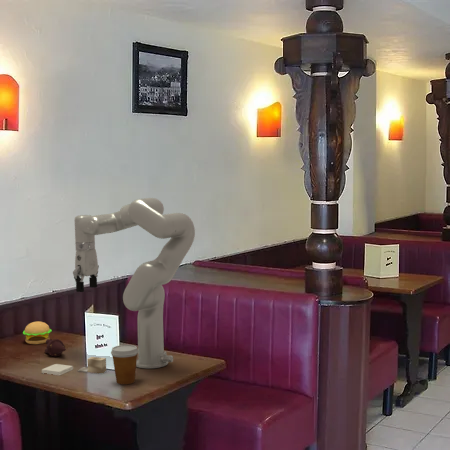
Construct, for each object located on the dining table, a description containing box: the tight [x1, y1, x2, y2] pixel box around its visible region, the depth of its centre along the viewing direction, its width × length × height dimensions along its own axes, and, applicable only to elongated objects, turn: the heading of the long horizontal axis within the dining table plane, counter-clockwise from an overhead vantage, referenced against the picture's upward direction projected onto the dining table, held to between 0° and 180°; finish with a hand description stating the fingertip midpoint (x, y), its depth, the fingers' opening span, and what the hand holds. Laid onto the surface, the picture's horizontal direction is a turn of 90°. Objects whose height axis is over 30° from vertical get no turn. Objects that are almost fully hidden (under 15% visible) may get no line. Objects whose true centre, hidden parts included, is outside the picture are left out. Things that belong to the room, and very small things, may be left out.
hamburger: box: [22, 320, 52, 345], centre depth 307 cm, size 12×12×9 cm
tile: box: [41, 363, 74, 376], centre depth 262 cm, size 2×8×8 cm
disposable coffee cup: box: [110, 344, 138, 385], centre depth 248 cm, size 10×10×12 cm
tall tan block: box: [77, 356, 107, 374], centre depth 261 cm, size 10×4×5 cm, turn 70°
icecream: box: [44, 338, 67, 358], centre depth 283 cm, size 7×7×15 cm
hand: (86, 289), depth 282 cm, fingers open, 9 cm apart
